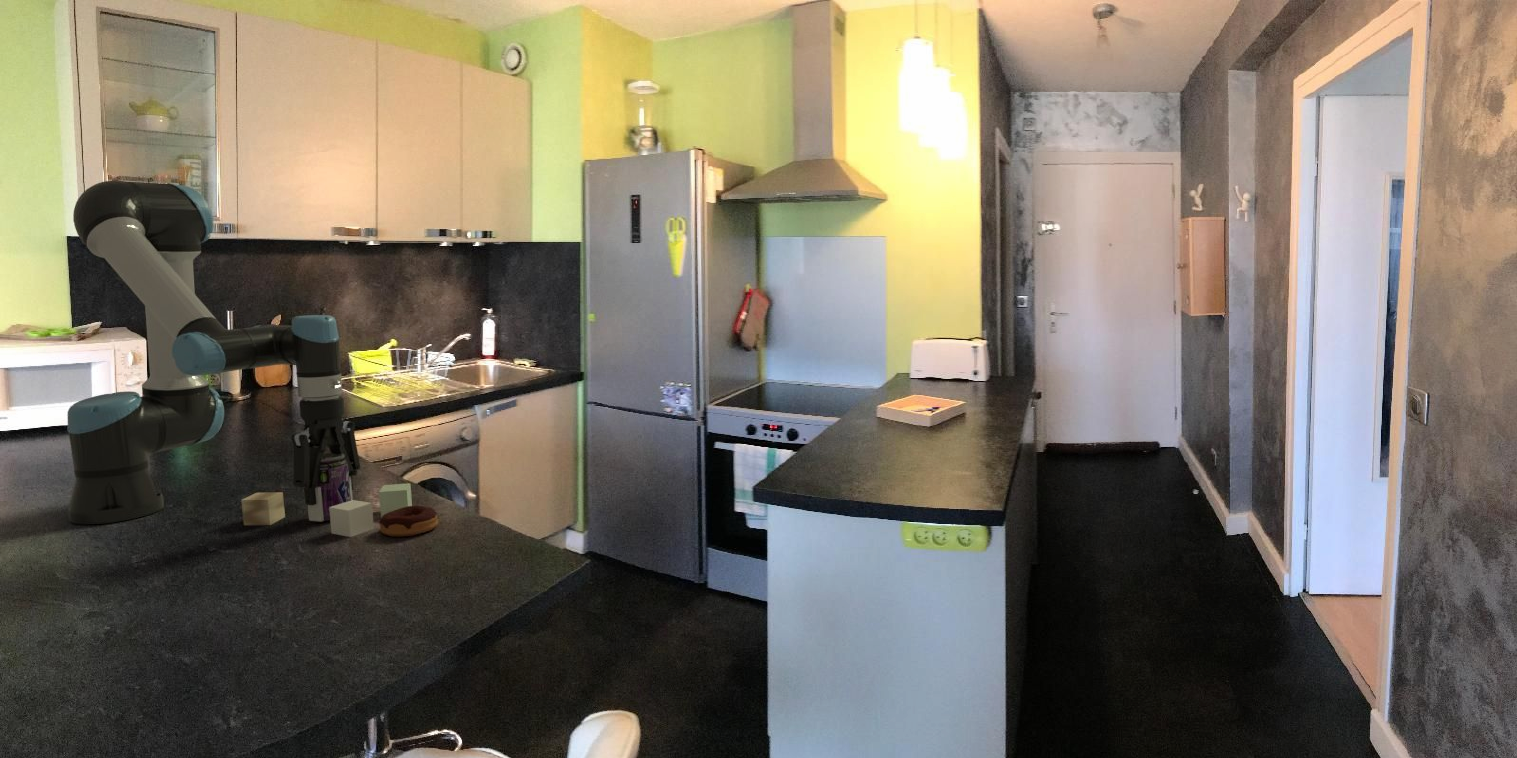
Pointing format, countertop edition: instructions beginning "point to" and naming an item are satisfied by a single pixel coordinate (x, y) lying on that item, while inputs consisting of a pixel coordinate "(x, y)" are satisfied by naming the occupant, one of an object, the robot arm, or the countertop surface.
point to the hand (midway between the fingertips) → (331, 514)
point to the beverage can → (333, 482)
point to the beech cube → (263, 508)
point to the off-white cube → (351, 518)
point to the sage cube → (394, 497)
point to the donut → (408, 521)
